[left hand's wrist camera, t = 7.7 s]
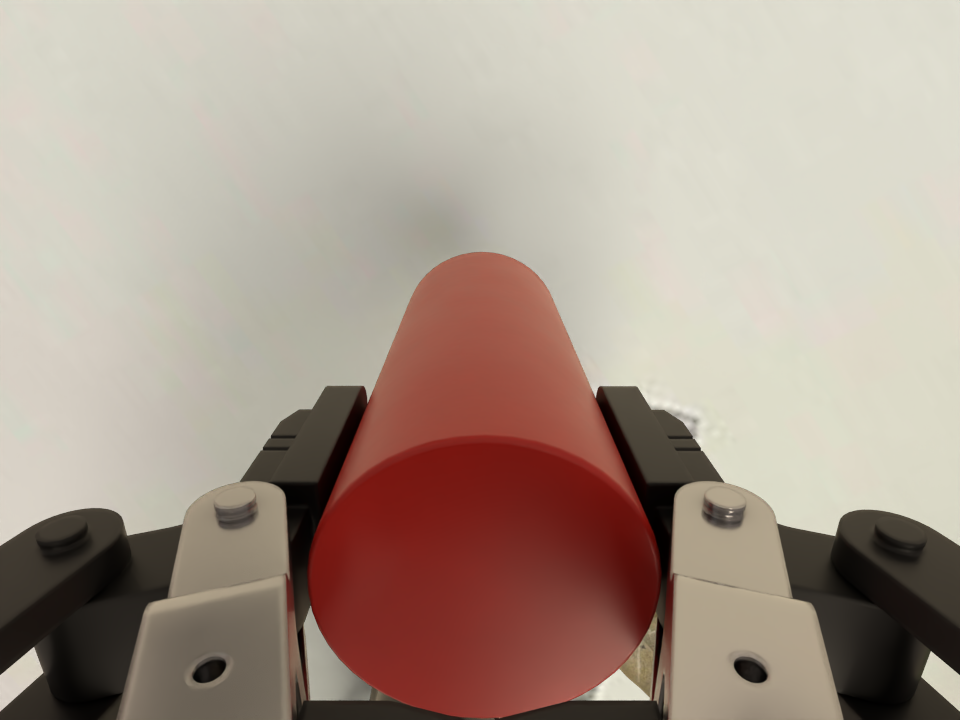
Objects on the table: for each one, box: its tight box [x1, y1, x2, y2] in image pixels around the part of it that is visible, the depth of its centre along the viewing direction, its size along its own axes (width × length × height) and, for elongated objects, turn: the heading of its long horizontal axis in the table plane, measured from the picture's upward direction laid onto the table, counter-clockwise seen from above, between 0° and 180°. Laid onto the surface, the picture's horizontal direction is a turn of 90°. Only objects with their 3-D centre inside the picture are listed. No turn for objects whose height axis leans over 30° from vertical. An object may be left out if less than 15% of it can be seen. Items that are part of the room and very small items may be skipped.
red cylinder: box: [307, 252, 662, 718], centre depth 13 cm, size 5×5×11 cm
